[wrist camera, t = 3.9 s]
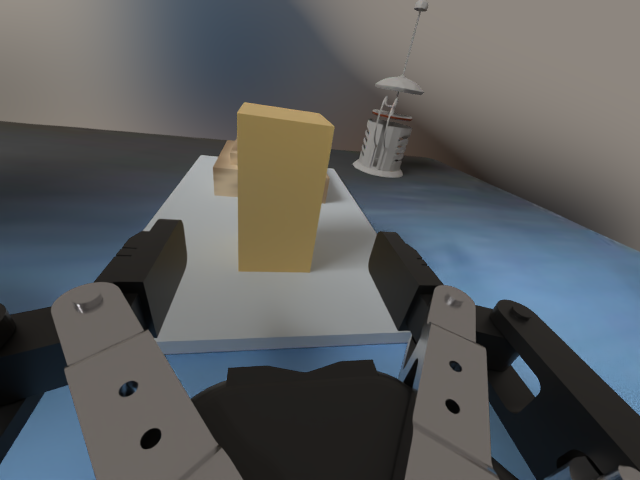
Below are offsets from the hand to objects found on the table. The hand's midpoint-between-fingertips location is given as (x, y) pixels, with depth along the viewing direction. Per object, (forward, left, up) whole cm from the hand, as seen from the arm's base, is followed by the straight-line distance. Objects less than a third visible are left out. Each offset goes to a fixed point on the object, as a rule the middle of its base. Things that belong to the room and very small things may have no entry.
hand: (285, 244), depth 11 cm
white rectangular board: (0, +16, -7) cm, 17 cm away
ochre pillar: (0, +8, -6) cm, 10 cm away
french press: (+20, +38, -7) cm, 44 cm away
